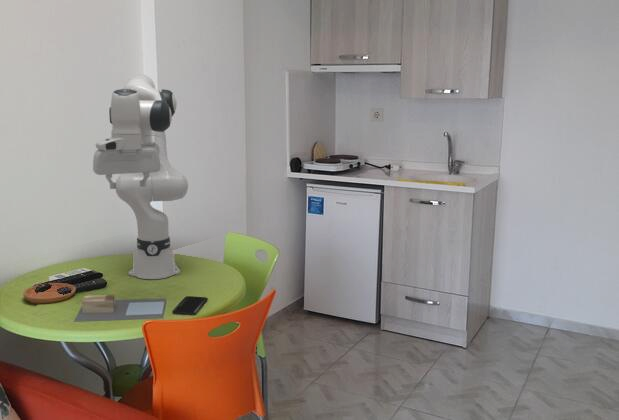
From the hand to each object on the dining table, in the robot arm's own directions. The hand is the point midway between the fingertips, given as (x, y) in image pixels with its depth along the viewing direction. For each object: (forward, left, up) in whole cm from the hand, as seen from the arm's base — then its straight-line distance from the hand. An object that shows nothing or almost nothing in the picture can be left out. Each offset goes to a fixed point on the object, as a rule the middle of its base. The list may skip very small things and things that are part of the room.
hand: (128, 187), depth 190 cm
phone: (+3, +19, -39) cm, 44 cm away
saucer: (-10, -27, -39) cm, 49 cm away
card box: (+5, -9, -38) cm, 40 cm away
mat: (+5, -2, -39) cm, 39 cm away
